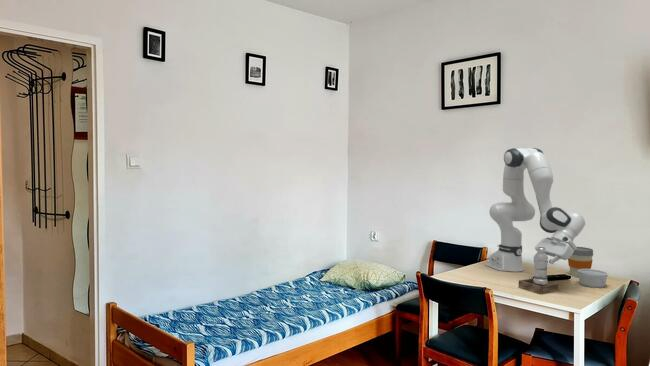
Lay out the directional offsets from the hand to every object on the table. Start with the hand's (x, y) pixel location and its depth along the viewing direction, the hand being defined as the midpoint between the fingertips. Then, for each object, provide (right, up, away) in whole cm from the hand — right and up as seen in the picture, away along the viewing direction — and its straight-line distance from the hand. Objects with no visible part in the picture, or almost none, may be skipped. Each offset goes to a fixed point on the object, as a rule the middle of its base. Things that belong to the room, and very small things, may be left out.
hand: (543, 261), depth 230 cm
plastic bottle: (-2, -13, -2) cm, 14 cm away
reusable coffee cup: (+32, -13, +27) cm, 44 cm away
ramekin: (+29, -14, +8) cm, 33 cm away
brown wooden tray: (-2, -14, 0) cm, 14 cm away
